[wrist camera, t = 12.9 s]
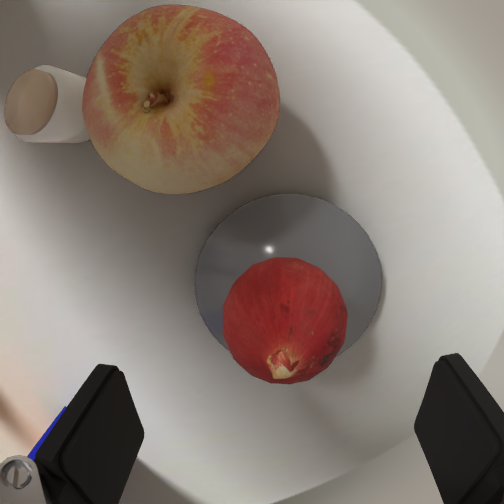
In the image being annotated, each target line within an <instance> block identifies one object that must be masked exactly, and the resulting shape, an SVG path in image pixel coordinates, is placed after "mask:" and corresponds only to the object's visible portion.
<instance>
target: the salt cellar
mask: <svg viewBox="0 0 504 504" xmlns="http://www.w3.org/2000/svg"><path fill="white" fill-rule="evenodd" d="M86 79H87V78H85V77H82V76H80V75H77V74H74V73H71V72H68V71H65V70H62V69H59V68H56V67H53V66H50V65H40V66H37V67H35V68H33V69H31V70H28V71H26V72H24V73H23V74H21V75H20V76H19V77H18V78H17V79H16V81H15V82H14V83H13V85H12V86H11V88H10V90H9V93H8V95H7V98H6V102H5V121H6V124H7V126H8V128H9V130H10V131H11V132H13V133H14V134H15V135H16V137H17V138H18V139H20V140H21V141H24V142H61V143H82V142H85V141H88V140H90V137H89V135H88V133H87V130H86V127H85V124H84V119H83V112H82V100H83V92H84V87H85V83H86Z"/></svg>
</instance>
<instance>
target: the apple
mask: <svg viewBox="0 0 504 504" xmlns="http://www.w3.org/2000/svg"><path fill="white" fill-rule="evenodd" d="M279 111H280V95H279V87H278V82H277V77H276V73H275V70H274V68H273V65H272V63H271V60H270V58H269V57H268V55H267V53H266V51H265V50H264V48H263V46H262V45H261V43H260V42H259V40H258V39H257V38H256V37H255V36H254V35H253V34H252V33H251V32H250V31H249V30H248V29H247V28H245V27H244V26H242V25H241V24H239V23H238V22H236V21H234V20H232V19H230V18H228V17H226V16H224V15H222V14H219V13H217V12H214V11H210V10H206V9H203V8H198V7H193V6H186V5H162V6H157V7H152V8H149V9H146V10H144V11H142V12H140V13H138V14H136V15H134V16H133V17H131V18H129V19H128V20H126V21H125V22H124V23H123V24H121V25H120V26H119V27H118V28H117V29H116V30H115V31H114V32H113V33H112V34H111V36H110V37H109V38H108V39H107V40H106V42H105V43H104V44H103V46H102V47H101V48H100V50H99V51H98V53H97V55H96V56H95V58H94V60H93V63H92V65H91V67H90V70H89V73H88V75H87V79H86V83H85V87H84V92H83V100H82V112H83V119H84V124H85V127H86V130H87V133H88V135H89V137H90V139H91V142H92V144H93V146H94V147H95V149H96V151H97V152H98V154H99V155H100V157H101V158H102V159H103V161H104V162H105V163H106V164H107V165H108V166H109V167H110V168H112V169H113V170H114V171H115V172H117V173H118V174H120V175H121V176H123V177H124V178H126V179H127V180H129V181H131V182H132V183H134V184H136V185H138V186H140V187H142V188H144V189H147V190H149V191H153V192H157V193H162V194H188V193H193V192H198V191H202V190H205V189H208V188H211V187H214V186H217V185H219V184H221V183H223V182H225V181H228V180H229V179H231V178H232V177H233V176H235V175H236V174H237V173H239V172H240V171H241V170H242V169H244V168H245V167H246V166H247V165H248V164H249V163H250V162H251V161H252V160H253V159H254V158H255V157H256V156H257V155H258V154H259V152H260V151H261V150H262V149H263V147H264V146H265V145H266V143H267V142H268V140H269V139H270V137H271V136H272V134H273V132H274V130H275V127H276V125H277V121H278V117H279Z"/></svg>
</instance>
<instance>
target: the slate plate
mask: <svg viewBox="0 0 504 504" xmlns="http://www.w3.org/2000/svg"><path fill="white" fill-rule="evenodd" d="M273 257H286V258H299V259H301V260H303V261H306V262H308V263H310V264H312V265H315V266H317V267H319V268H320V269H322V270H323V271H324V272H325V273H326V274H327V275H328V276H329V277H330V278H331V279H332V280H333V281H334V282H335V283H336V284H337V285H338V288H339V290H340V293H341V295H342V298H343V300H344V303H345V305H346V308H347V312H348V318H347V328H346V338H345V341H344V344H343V346H342V347H341V349H340V350H339V352H338V353H337V355H339V354H341V353H342V352H343V351H345V350H346V349H347V348H349V347H350V346H351V345H352V344H353V343H354V342H355V341H356V340H357V339H358V338H359V337H360V336H361V335H362V334H363V332H364V331H365V330H366V328H367V327H368V325H369V323H370V322H371V320H372V318H373V316H374V314H375V311H376V309H377V306H378V302H379V299H380V293H381V279H382V276H381V268H380V263H379V259H378V255H377V252H376V250H375V248H374V245H373V243H372V241H371V240H370V238H369V236H368V235H367V233H366V232H365V231H364V229H363V228H362V227H361V226H360V224H359V223H358V222H357V221H355V220H354V219H353V218H352V217H351V216H350V215H349V214H347V213H346V212H345V211H343V210H342V209H340V208H339V207H337V206H335V205H333V204H331V203H329V202H327V201H325V200H322V199H319V198H316V197H313V196H308V195H302V194H277V195H271V196H266V197H262V198H259V199H257V200H254V201H251V202H249V203H247V204H245V205H243V206H241V207H240V208H238V209H236V210H235V211H234V212H232V213H231V214H230V215H228V216H227V217H226V218H225V219H224V220H223V221H222V222H221V223H220V224H219V225H218V226H217V227H216V228H215V230H214V231H213V232H212V234H211V235H210V236H209V238H208V239H207V241H206V243H205V245H204V246H203V249H202V251H201V254H200V256H199V259H198V263H197V267H196V273H195V295H196V300H197V305H198V308H199V311H200V314H201V316H202V318H203V320H204V322H205V324H206V326H207V327H208V329H209V330H210V332H211V333H212V334H213V336H214V337H215V338H216V339H217V340H218V341H219V342H220V343H221V344H222V345H223V346H224V347H225V348H226V349H228V350H229V348H228V346H227V344H226V341H225V339H224V336H223V305H224V302H225V300H226V298H227V296H228V293H229V291H230V289H231V287H232V285H233V284H234V282H235V281H236V279H238V278H239V277H240V276H241V275H242V274H243V273H244V272H245V271H246V270H247V269H248V268H249V267H250V266H252V265H253V264H256V263H259V262H262V261H265V260H268V259H270V258H273ZM229 351H230V350H229ZM337 355H336V356H337Z"/></svg>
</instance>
